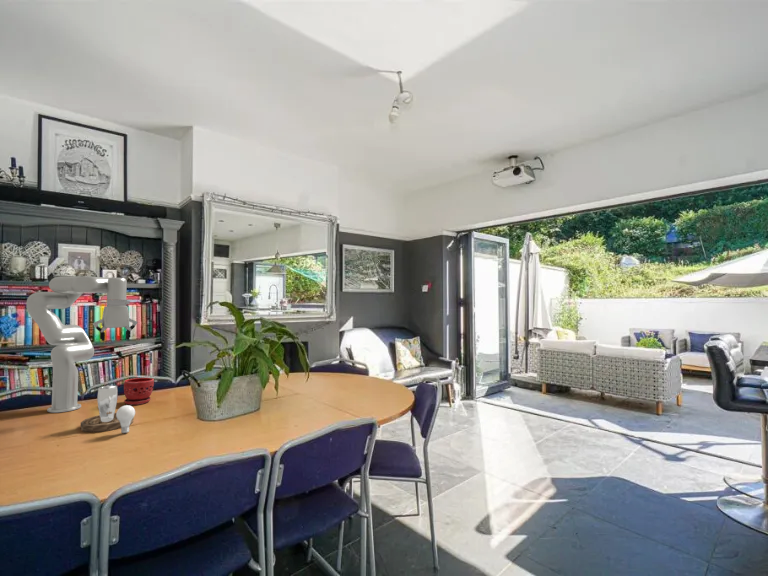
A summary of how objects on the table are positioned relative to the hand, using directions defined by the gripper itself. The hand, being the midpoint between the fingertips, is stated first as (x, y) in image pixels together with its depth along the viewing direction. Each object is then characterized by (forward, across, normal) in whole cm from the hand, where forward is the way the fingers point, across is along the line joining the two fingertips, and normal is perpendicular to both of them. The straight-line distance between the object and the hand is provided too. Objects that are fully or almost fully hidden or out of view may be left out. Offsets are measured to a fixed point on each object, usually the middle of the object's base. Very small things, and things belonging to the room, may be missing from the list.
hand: (115, 340), depth 180 cm
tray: (+34, +6, +18) cm, 39 cm away
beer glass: (+34, +6, +18) cm, 38 cm away
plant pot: (+35, -14, -13) cm, 40 cm away
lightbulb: (+34, +4, +35) cm, 49 cm away
